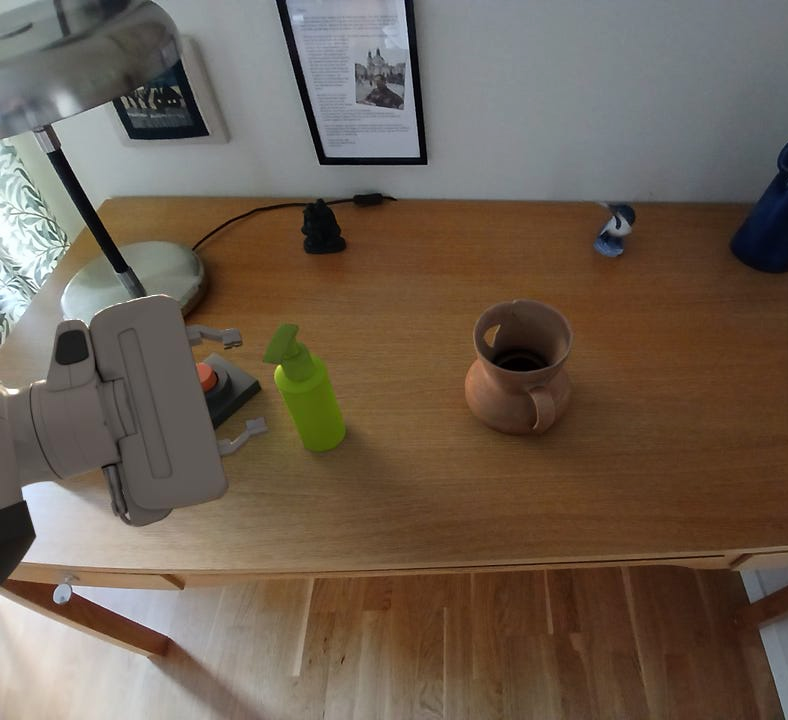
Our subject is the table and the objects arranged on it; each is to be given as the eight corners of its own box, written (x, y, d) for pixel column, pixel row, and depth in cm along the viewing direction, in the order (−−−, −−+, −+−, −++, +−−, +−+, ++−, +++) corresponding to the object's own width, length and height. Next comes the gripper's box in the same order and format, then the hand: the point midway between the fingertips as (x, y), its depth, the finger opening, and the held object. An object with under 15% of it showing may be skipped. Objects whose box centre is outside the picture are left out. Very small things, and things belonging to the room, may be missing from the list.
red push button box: (205, 439, 74) (193, 422, 71) (161, 408, 77) (148, 390, 74) (262, 389, 79) (253, 371, 76) (219, 361, 82) (209, 343, 79)
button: (201, 398, 74) (195, 388, 72) (183, 385, 75) (177, 376, 73) (222, 380, 75) (217, 370, 74) (205, 368, 77) (199, 359, 75)
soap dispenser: (291, 455, 72) (242, 356, 57) (310, 411, 77) (269, 309, 61) (334, 462, 72) (296, 364, 56) (351, 417, 76) (320, 315, 61)
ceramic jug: (452, 365, 82) (449, 295, 71) (545, 347, 85) (556, 277, 74) (483, 471, 71) (485, 408, 60) (589, 447, 73) (610, 382, 63)
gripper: (108, 533, 45) (283, 476, 51) (55, 304, 48) (224, 275, 54) (126, 535, 50) (282, 483, 56) (78, 329, 54) (229, 301, 60)
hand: (253, 379), depth 55 cm, fingers open, 8 cm apart
